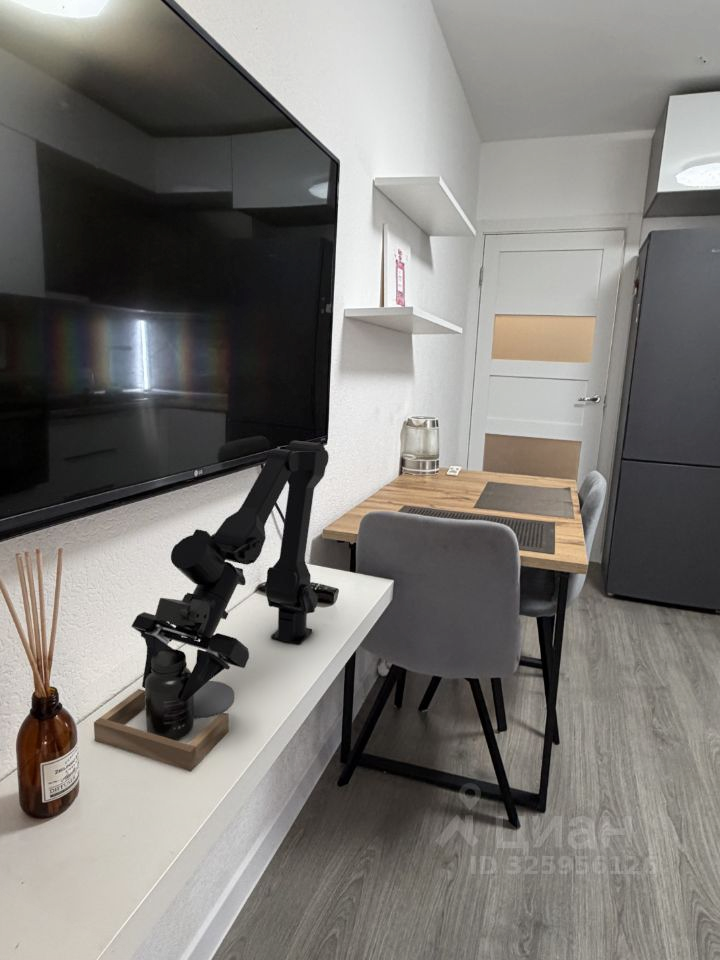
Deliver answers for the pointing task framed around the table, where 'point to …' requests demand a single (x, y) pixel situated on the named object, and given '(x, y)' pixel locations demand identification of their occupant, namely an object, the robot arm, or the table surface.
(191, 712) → the supplement bottle
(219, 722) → the walnut bay
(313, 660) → the table surface
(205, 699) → the coaster
